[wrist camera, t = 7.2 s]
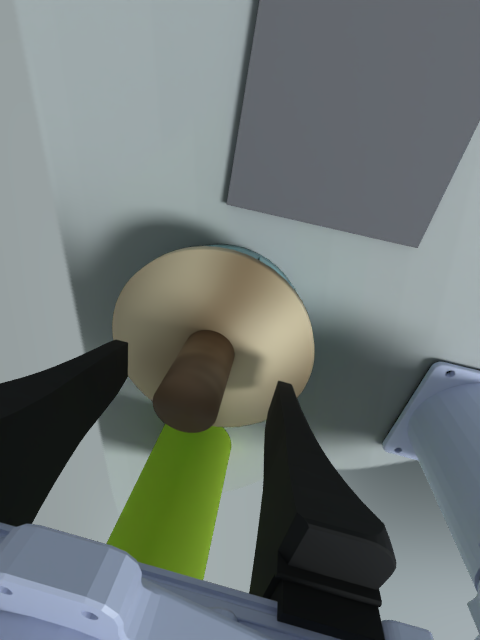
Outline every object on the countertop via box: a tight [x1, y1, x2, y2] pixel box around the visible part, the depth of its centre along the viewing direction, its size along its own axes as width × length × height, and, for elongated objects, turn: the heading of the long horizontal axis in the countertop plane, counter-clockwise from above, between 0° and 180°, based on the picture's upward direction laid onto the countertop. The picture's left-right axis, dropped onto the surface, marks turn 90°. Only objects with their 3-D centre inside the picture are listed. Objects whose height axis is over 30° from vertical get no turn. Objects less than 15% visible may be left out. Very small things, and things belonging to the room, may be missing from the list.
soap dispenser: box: [107, 424, 231, 580], centre depth 16 cm, size 6×7×20 cm
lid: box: [112, 246, 314, 433], centre depth 13 cm, size 10×10×5 cm
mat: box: [227, 0, 480, 248], centre depth 13 cm, size 10×10×1 cm
